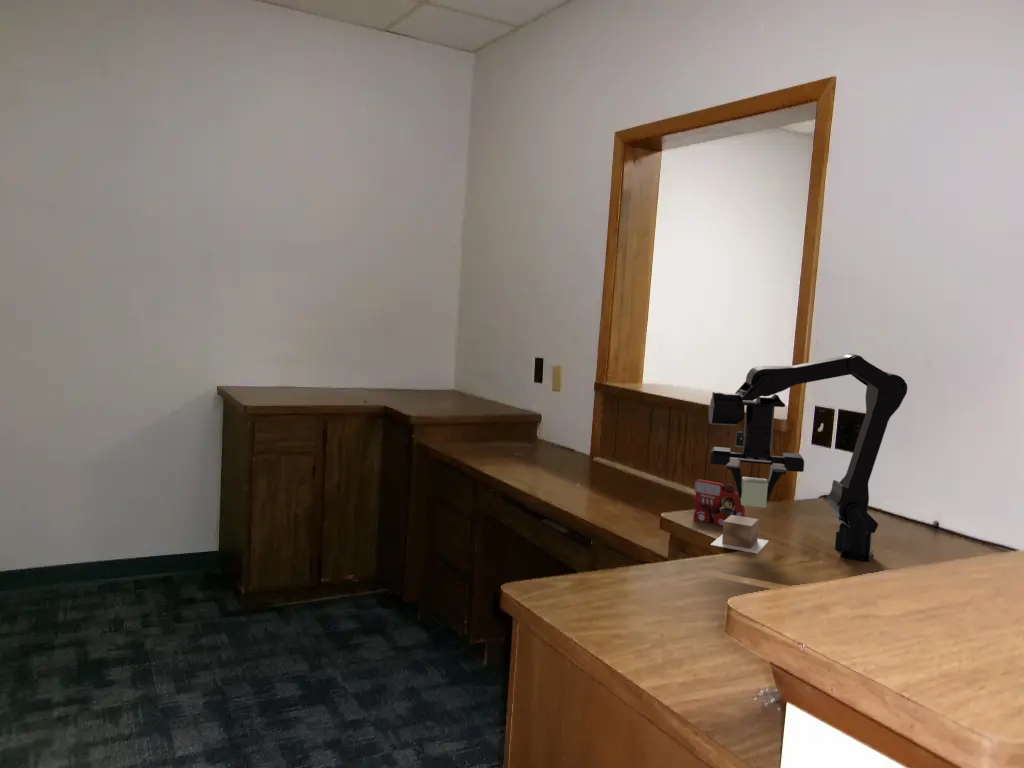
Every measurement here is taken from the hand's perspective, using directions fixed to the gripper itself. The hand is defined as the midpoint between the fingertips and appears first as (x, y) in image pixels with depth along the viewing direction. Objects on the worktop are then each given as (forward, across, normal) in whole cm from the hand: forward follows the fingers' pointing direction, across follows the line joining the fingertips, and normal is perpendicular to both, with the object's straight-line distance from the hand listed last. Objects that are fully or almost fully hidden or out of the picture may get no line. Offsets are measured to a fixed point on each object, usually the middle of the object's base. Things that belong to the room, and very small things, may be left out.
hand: (753, 498), depth 170 cm
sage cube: (+1, 0, 0) cm, 1 cm away
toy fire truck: (+12, +7, -17) cm, 22 cm away
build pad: (+12, +2, -2) cm, 12 cm away
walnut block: (+10, +2, -2) cm, 11 cm away
